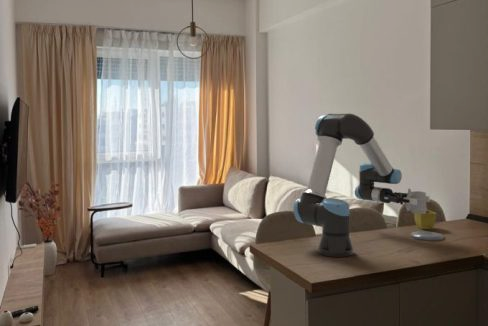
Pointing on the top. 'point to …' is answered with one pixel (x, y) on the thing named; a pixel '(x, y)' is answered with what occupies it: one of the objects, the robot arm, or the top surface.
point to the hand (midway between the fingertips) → (423, 200)
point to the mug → (421, 202)
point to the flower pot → (425, 220)
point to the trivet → (427, 236)
